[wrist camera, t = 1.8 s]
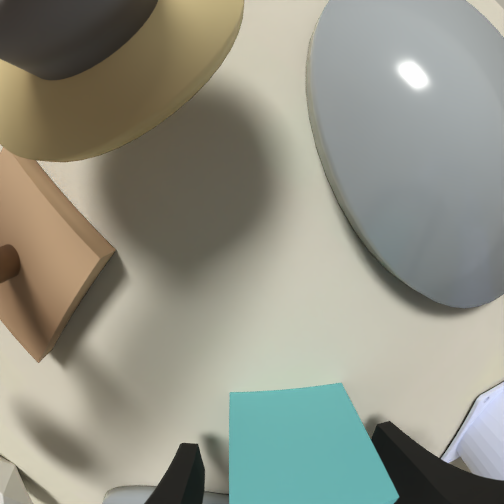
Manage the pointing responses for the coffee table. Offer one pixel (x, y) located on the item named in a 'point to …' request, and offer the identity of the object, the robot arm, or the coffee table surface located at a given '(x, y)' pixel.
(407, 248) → the dish low side
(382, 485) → the block
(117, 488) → the grey round disc
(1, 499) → the die
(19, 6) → the balance
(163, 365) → the coffee table surface
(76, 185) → the coffee table surface
